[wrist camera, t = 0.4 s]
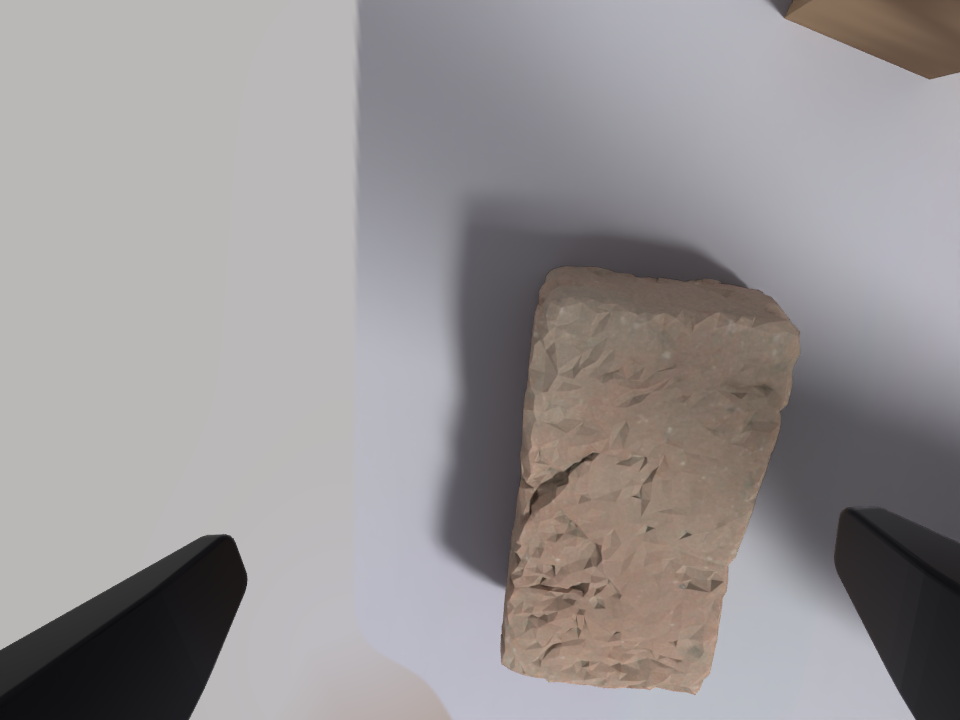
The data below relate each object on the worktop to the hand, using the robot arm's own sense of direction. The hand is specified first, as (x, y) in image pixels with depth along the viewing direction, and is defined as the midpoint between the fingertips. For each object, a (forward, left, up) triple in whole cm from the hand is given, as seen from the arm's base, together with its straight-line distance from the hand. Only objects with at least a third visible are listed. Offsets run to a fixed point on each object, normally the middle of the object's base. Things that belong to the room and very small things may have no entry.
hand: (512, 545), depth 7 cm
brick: (-6, +5, -14) cm, 15 cm away
